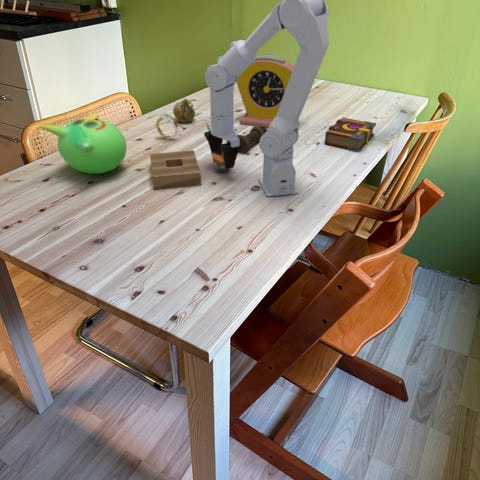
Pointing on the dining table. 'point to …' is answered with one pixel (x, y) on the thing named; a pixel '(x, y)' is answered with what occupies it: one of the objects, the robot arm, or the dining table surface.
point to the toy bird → (90, 144)
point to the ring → (168, 117)
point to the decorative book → (349, 134)
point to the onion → (184, 110)
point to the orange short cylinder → (219, 161)
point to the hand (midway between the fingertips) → (223, 162)
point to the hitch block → (175, 169)
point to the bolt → (251, 138)
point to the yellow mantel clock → (263, 89)
